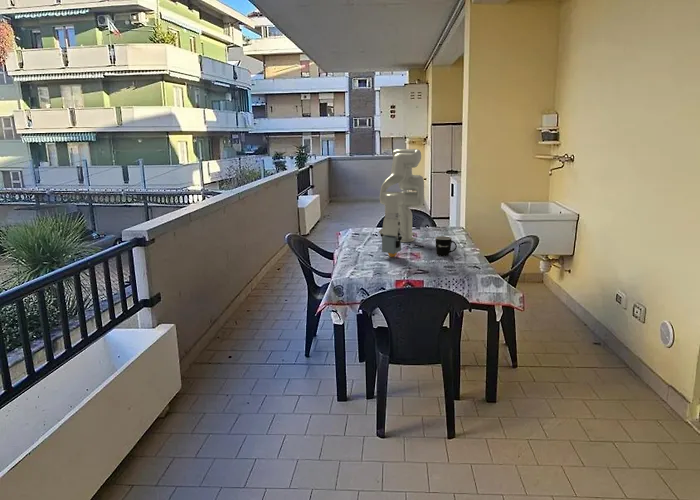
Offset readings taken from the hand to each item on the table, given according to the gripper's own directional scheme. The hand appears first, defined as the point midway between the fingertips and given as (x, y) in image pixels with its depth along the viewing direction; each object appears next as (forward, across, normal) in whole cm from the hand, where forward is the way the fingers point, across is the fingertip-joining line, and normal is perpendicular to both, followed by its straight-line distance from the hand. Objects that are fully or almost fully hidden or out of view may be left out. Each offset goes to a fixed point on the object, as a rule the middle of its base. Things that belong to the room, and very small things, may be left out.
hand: (391, 246), depth 283 cm
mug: (+7, -23, -22) cm, 33 cm away
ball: (+4, 0, -1) cm, 4 cm away
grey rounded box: (+3, 0, 0) cm, 3 cm away
